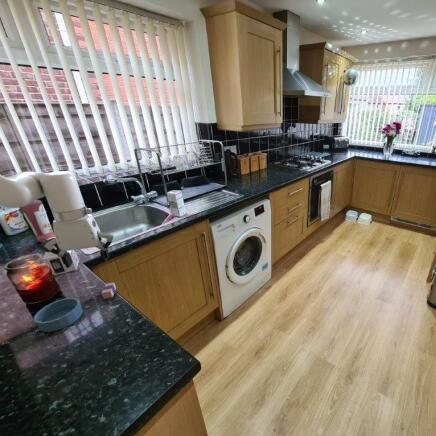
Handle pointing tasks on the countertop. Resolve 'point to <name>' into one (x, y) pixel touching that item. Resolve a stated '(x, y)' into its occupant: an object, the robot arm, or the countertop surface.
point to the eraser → (108, 290)
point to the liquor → (38, 220)
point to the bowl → (58, 315)
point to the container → (58, 260)
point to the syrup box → (176, 203)
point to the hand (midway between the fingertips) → (88, 262)
